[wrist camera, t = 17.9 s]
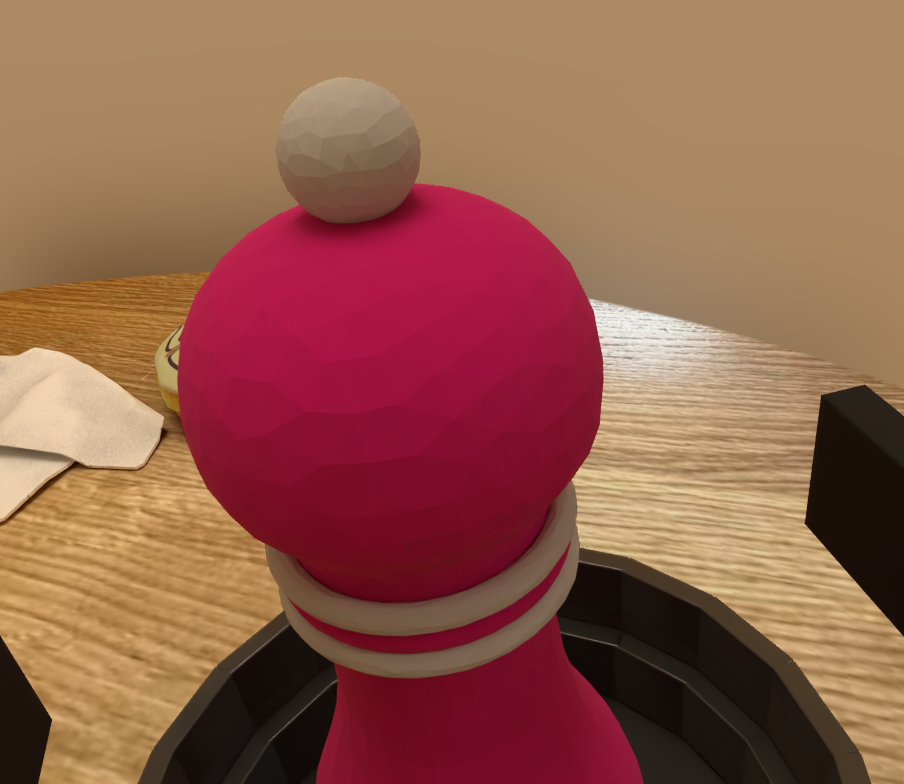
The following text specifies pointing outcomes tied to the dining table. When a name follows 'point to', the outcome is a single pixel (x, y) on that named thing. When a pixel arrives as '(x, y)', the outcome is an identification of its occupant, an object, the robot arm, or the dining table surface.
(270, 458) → the pepper mill
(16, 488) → the cloth
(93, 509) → the dining table surface
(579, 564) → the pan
